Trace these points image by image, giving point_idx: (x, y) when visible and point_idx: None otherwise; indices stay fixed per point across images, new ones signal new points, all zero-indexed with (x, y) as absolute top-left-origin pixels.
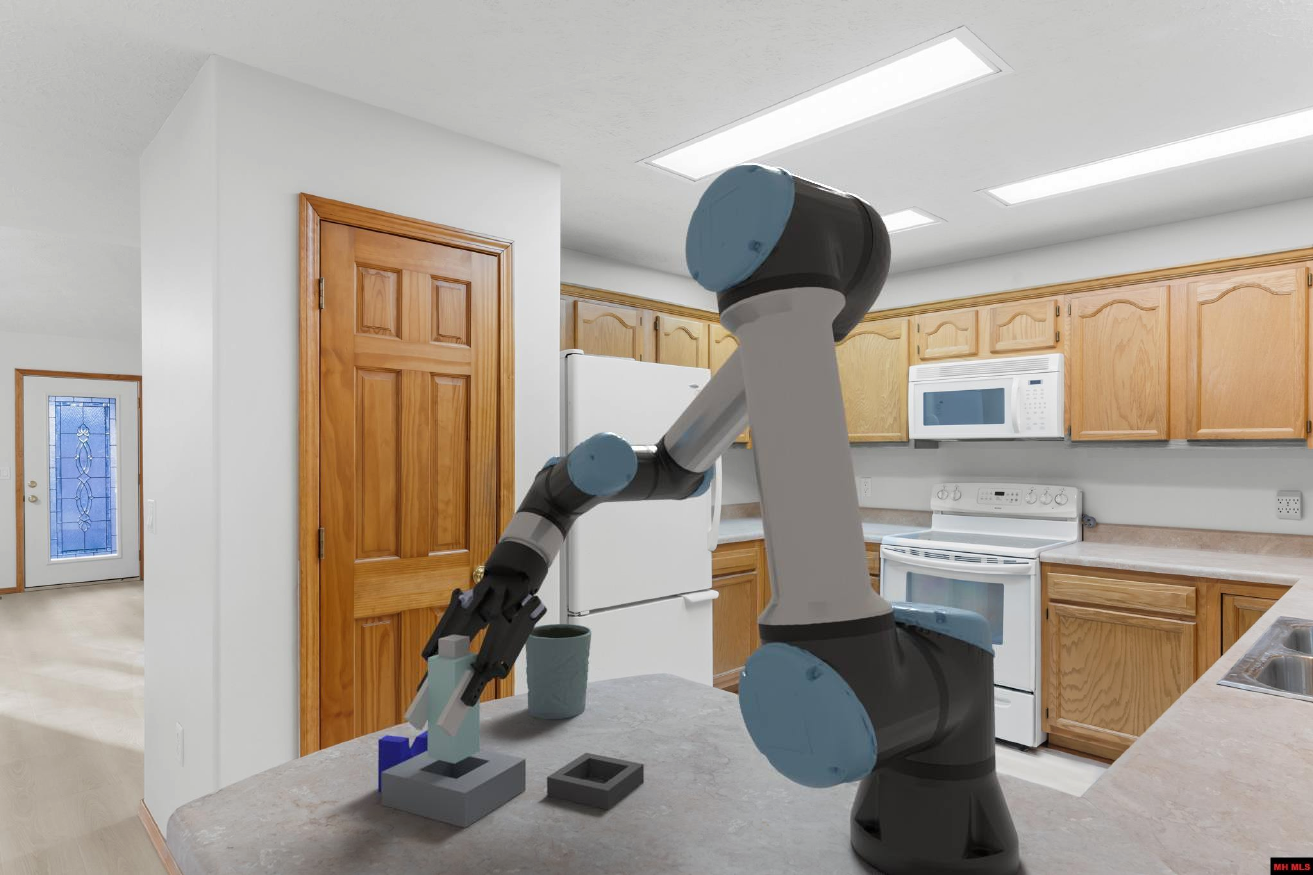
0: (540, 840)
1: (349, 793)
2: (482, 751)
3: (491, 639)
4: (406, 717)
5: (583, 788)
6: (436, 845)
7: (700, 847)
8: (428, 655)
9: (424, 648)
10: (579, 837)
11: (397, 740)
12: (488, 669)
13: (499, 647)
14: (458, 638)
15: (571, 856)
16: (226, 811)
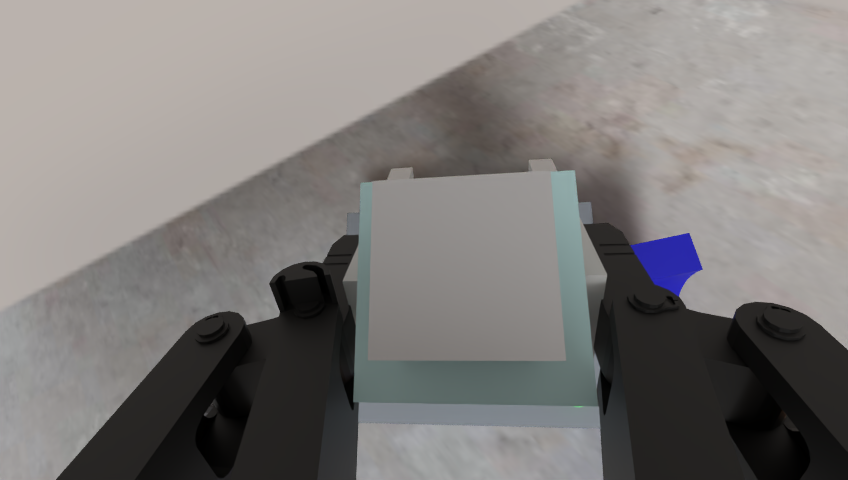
0: (233, 257)
1: (681, 225)
2: (469, 414)
3: (236, 478)
4: (540, 160)
5: (207, 411)
6: (369, 169)
7: (8, 355)
8: (733, 319)
9: (844, 350)
10: (182, 294)
11: (635, 254)
12: (265, 327)
13: (165, 419)
14: (410, 263)
15: (170, 242)
16: (815, 64)
